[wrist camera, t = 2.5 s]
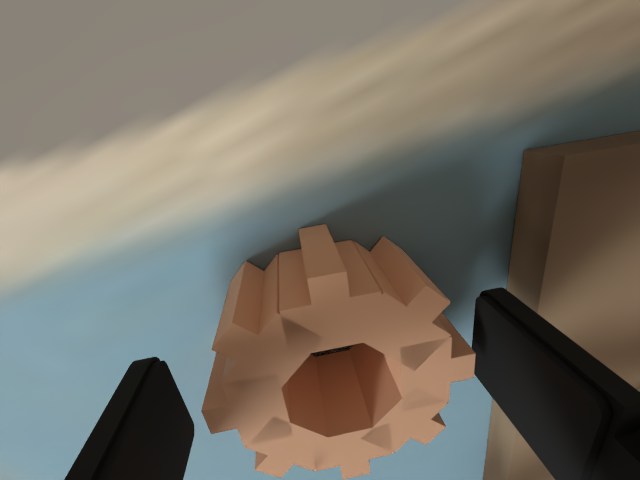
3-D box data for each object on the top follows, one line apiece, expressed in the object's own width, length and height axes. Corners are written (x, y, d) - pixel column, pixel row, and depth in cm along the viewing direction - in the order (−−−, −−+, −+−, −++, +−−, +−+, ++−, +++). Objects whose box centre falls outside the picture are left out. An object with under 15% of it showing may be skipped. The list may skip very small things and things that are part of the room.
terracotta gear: (424, 373, 13) (467, 450, 10) (249, 410, 12) (240, 502, 9) (423, 206, 10) (485, 245, 7) (194, 247, 9) (157, 306, 7)
